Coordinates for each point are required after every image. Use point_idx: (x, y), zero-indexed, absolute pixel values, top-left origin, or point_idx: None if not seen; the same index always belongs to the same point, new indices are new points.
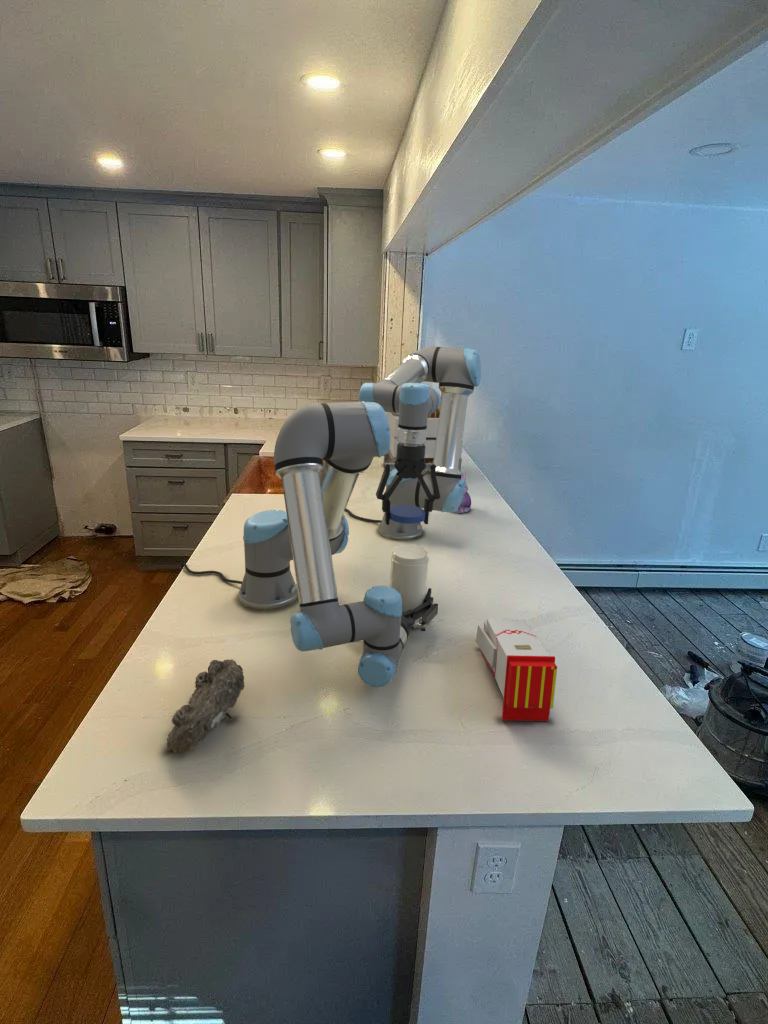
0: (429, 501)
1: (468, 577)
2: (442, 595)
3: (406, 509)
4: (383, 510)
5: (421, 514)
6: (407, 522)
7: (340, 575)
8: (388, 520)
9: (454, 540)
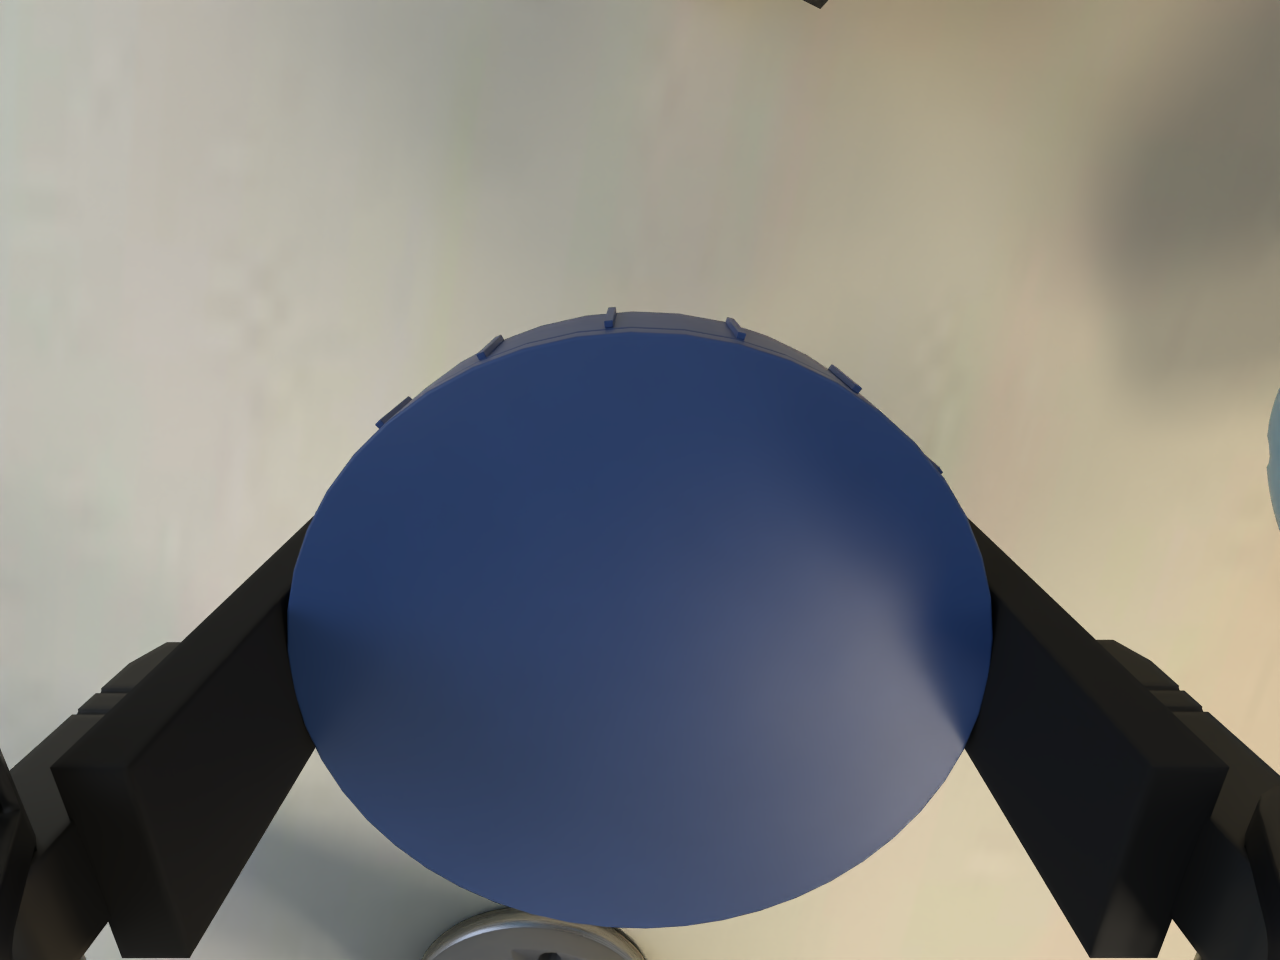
0: (65, 811)
1: (189, 449)
2: (391, 206)
3: (636, 752)
4: (1133, 660)
5: (378, 500)
6: (694, 321)
7: (994, 521)
8: None
9: (237, 897)
